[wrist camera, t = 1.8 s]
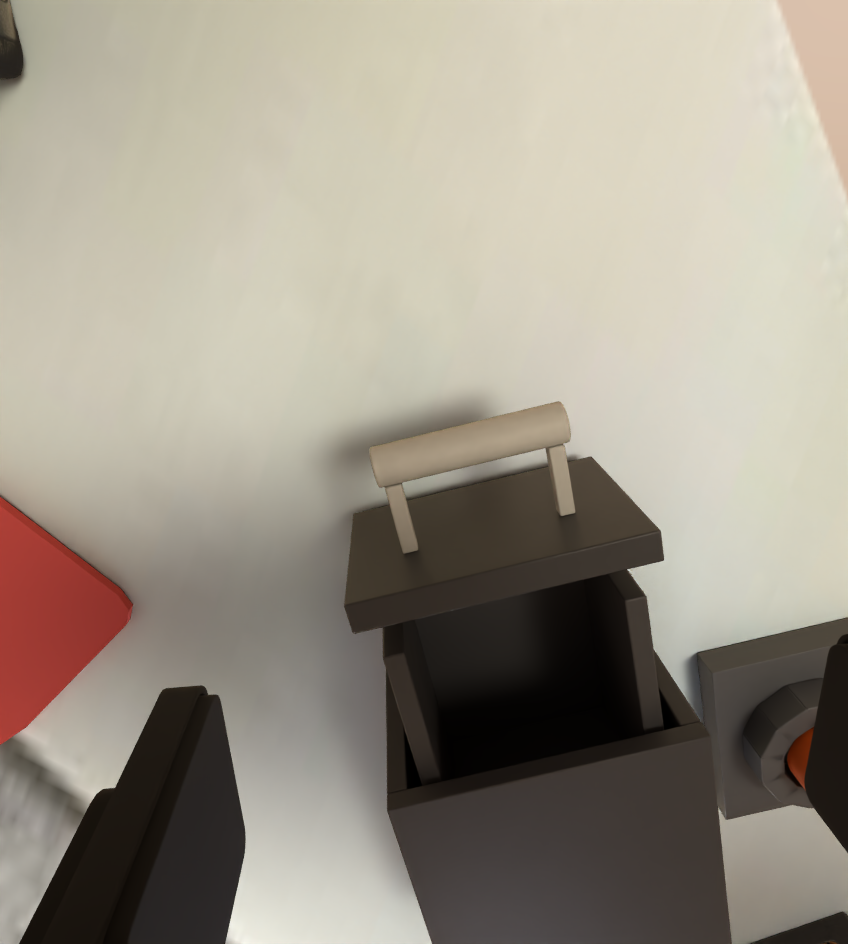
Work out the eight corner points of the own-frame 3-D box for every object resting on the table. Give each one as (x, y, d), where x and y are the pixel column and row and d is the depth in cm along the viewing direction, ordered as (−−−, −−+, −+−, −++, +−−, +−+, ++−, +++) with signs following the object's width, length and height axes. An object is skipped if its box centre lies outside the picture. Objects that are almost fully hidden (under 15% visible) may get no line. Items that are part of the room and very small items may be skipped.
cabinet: (385, 653, 33) (386, 810, 24) (621, 598, 33) (711, 736, 24) (448, 859, 38) (468, 1052, 29) (653, 812, 38) (737, 993, 29)
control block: (867, 612, 34) (919, 653, 31) (867, 760, 38) (913, 810, 34) (696, 652, 34) (729, 697, 31) (711, 795, 38) (742, 849, 35)
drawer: (326, 423, 28) (306, 491, 21) (577, 362, 28) (647, 409, 21) (422, 745, 34) (433, 885, 27) (628, 697, 34) (696, 825, 27)
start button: (857, 715, 32) (882, 741, 31) (857, 770, 34) (882, 798, 32) (784, 731, 32) (806, 758, 31) (787, 786, 34) (808, 815, 32)
